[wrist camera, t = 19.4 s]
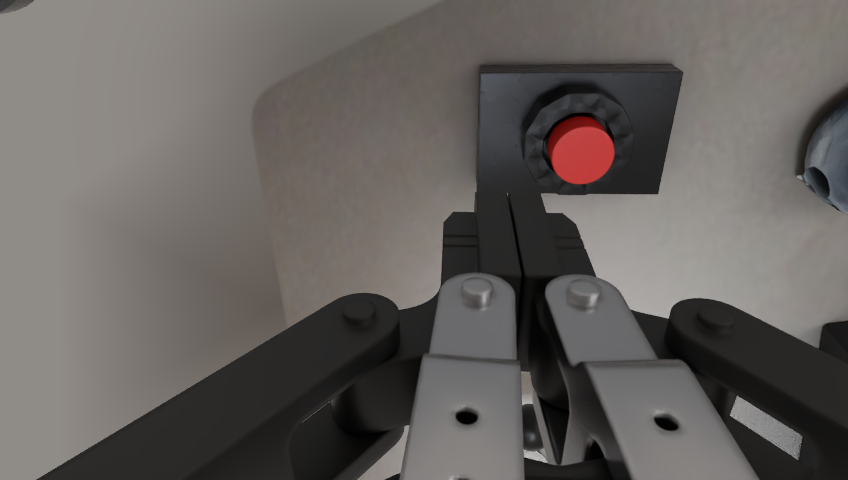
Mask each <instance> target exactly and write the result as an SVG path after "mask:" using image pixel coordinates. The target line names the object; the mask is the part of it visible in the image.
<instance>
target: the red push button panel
mask: <svg viewBox="0 0 848 480" xmlns="http://www.w3.org/2000/svg"><path fill="white" fill-rule="evenodd" d="M682 76H683V72H682V71H681V70H679V69H678V68H677V67H675V66H674V65H672V64H583V65H480V69H479V104H478V139H477V174H476V183H477V192H506V193H509V192H511V193H556V194H559V195H587V194H658V191H659V186H660V182H661V177H662V172H663V167H664V162H665V158H666V153H667V148H668V143H669V139H670V134H671V129H672V124H673V119H674V115H675V110H676V105H677V100H678V96H679V91H680V86H681V81H682ZM575 116H586V117H590V118H593V119H595V120H596V121H598V122H599V123H600V124H601V125H602V126H603V127H604V129H605V130H606V132H607V134H608V135H609V137H610V138H611V140H612V142H613V145H614V151H615V153H614V159H613V162H612V164H611V166H610V168H609V169H608V171H607V172H606V173H605V174H604V175H603V176H602V177H600V178H599V179H597V180H595V181H593V182H590V183H587V184H573V183H569V182H567V181H565V180H563V179H561V178H560V177H559V176H558V175H557V174H556V172H555V171H554V168H553V166H552V163H551V160H550V157H549V154H548V149H547V145H548V140H549V137H550V134H551V133H552V131H553V130H554V128H555V127H556V126H557V125H558V124H560V123H561V122H562V121H564V120H566V119H568V118H571V117H575Z"/></svg>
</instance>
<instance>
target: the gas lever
mask: <svg viewBox="0 0 848 480" xmlns="http://www.w3.org/2000/svg"><path fill="white" fill-rule="evenodd" d="M522 421H523V449H524V450H527V451H540V452H541V454H542V455H543V456H544V457H545V458H546V460H547V457H546V453H545V449H544V445H543V441H542V437H541V433H540V430H539V426H538V422H537V418H536V414H535V410H534V406H533V404H525V405H522Z"/></svg>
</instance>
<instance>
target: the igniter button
mask: <svg viewBox="0 0 848 480" xmlns="http://www.w3.org/2000/svg"><path fill="white" fill-rule="evenodd" d="M547 149H548V154H549V157H550V160H551V163H552V166H553V168H554V171H555V172H556V174H557V175H558V176H559V177H560V178H561V179H563V180H565V181H567V182H569V183H573V184H587V183H590V182H593V181H595V180H597V179H599V178H600V177H602V176H603V175H604V174H605V173H606V172H607V171H608V169H609V168H610V166H611V164H612V162H613V159H614V153H615V151H614V145H613V142H612V140H611V138H610V137H609V135H608V134H607V132H606V130H605V129H604V127H603V126H602V125H601V124H600V123H599V122H598V121H596V120H595V119H593V118H590V117H586V116H575V117H571V118H568V119H566V120H564V121H562V122H561V123H560V124H558V125H557V126H556V127H555V128H554V130H553V131H552V133H551V134H550V137H549V140H548V145H547Z"/></svg>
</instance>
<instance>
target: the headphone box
mask: <svg viewBox="0 0 848 480" xmlns="http://www.w3.org/2000/svg"><path fill="white" fill-rule="evenodd" d="M820 350H821V351H823V352H825V353H827V354H829V355H831V356H833V357H835V358H837V359H839V360H841V361H843V362H845V363H847V364H848V322H845V323H835V324H828V325H826V326H825V327H824V328H823V334H822V339H821V345H820ZM799 461H800V462H802V463H803V464H805V465H806V466H808V467H810V468H812V469H815V470H816V468H817V465H818V456H817V454H816V451H815V449H814V448H813V446H812V445H811V444H810V442H809V441H808V440H807V439H806V438H804V437H803V443H802V448H801V454H800V459H799Z"/></svg>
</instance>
